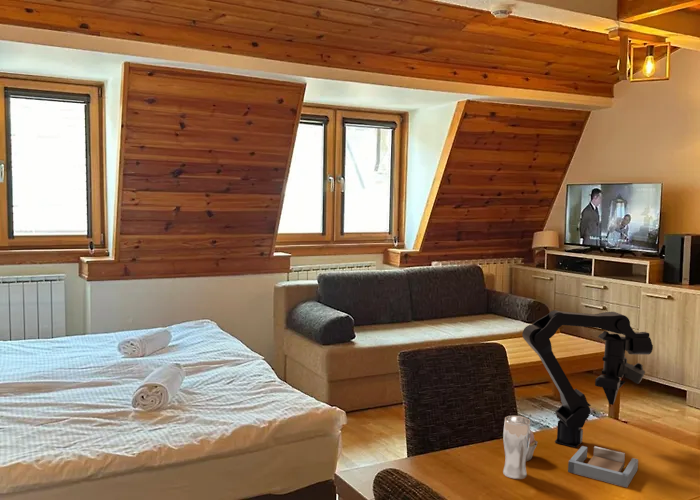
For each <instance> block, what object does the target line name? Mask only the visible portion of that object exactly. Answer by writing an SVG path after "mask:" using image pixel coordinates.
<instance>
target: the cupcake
mask: <svg viewBox="0 0 700 500" xmlns="http://www.w3.org/2000/svg"><path fill="white" fill-rule="evenodd" d="M537 446H538V441H537V440H536V439H535V434H534V433H533V431H532V430H531V429H530V444H529V449H528V453H527V457H526V462H528V461H531V459H532V458H533V455H534V451H535V449H536V447H537Z"/></svg>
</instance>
